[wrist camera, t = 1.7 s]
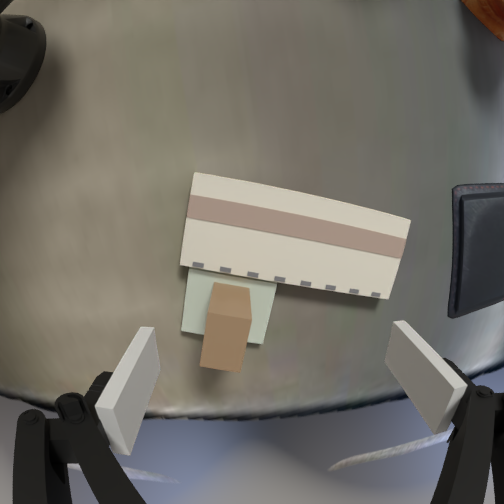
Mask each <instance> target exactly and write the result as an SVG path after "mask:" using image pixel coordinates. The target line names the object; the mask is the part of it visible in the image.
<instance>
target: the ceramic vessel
mask: <svg viewBox="0 0 504 504" xmlns="http://www.w3.org/2000/svg"><path fill="white" fill-rule="evenodd" d="M461 1H462V2H463V3H464V4H465V5H466V6H467V8H468V9H469V10H470V11H471V12H472V13H473V14H474V15H475V16H476V17H477V18H478V19H479V20H480V21H481V22H482V23H483V24H484V25H485V26H486V27H487V28H488V29H489V30H490V31H491V32H492V33H493V34H494V35H495V36H496V37H497V38H498V39H500V40H501V41H504V0H461Z"/></svg>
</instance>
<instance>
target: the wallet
mask: <svg viewBox="0 0 504 504" xmlns="http://www.w3.org/2000/svg"><path fill="white" fill-rule="evenodd" d="M452 215H453V256H452V272H451V284H450V294H449V302H448V317H450V318H456V317H460V316H463V315H466V314H468V313H471V312H474V311H476V310H479V309H482V308H485V307H487V306H490V305H493V304H496V303H498V302H501V301H503V300H504V183H485V184H464V185H457V186H455V187H454V188H453V189H452Z"/></svg>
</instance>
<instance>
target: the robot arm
mask: <svg viewBox="0 0 504 504" xmlns="http://www.w3.org/2000/svg"><path fill="white" fill-rule="evenodd" d="M12 1H13V0H0V113H2V112H4V111H6V110H8V109H9V108H11V107H12V106H13V105H14V104H16V103H17V102H18V101H19V100H20V99H21V98H22V96H23V95H24V94H25V93H26V91H27V90H28V89H29V87H30V86H31V84H32V83H33V81H34V79H35V77H36V75H37V73H38V71H39V69H40V66H41V64H42V61H43V58H44V54H45V49H46V34H45V30H44V28H43V26H42V25H41V24H40V23H39V22H37V21H36V20H34V19H33V18H31V17H29V16H25V15H7V14H1V13H2V12H3V11H4V10H5V8H6V7H7V6H8V5H9V4H10V3H11V2H12ZM384 362H385V363H386V365H387V366H388V368H389V369H390V371H391V372H392V373H393V375H394V376H395V378H396V379H397V381H398V382H399V384H400V385H401V386H402V388H403V389H404V391H405V392H406V394H407V395H408V397H409V398H410V400H411V401H412V402H413V404H414V405H415V407H416V408H417V410H418V411H419V413H420V414H421V416H422V417H423V419H424V420H425V422H426V423H427V425H428V426H429V428H430V429H431V431H432V432H433V434H434V435H435V434H438V433H441V432H444V431H447V429H448V427H449V425H450V423H451V421H452V423H453V424H454V425H455V427H454V429H453V431H452V433H451V435H450V437H449V439H448V440H447V443H448V442H449V441H450V443H449V447H448V451H447V454H446V458H445V461H444V465H443V468H442V471H441V474H440V478H439V481H438V484H437V487H436V490H435V492H434V495H433V498H432V501H431V503H430V504H483V502H484V498H485V492H486V487H487V482H488V475H489V469H490V462H491V466H492V474H493V482H494V493H495V504H504V393H494V392H493V390H492V389H490V388H489V387H486V386H481V385H480V386H476V385H475V384H473V382H472V381H471V380H470V379H469V378H468V377H467V376H466V375H465V374H464V373H462V371H461V370H460V369H458V367H457V366H456V365H455V364H454V363H453V362H452V361H450V360H448V359H446V358H441V357H440V356H439V355H438V354H437V353H436V352H435V351H434V350H433V349H432V348H431V347H430V346H429V345H428V343H427V342H426V341H425V340H424V339H423V338H422V337H421V336H420V335H419V334H418V333H417V332H416V331H415V330H414V329H412V328H411V327H410V326H409V325H408V324H407V323H406V322H405V321H394V322H393V325H392V330H391V335H390V339H389V344H388V349H387V353H386V357H385V361H384ZM160 370H161V369H160V363H159V357H158V350H157V343H156V337H155V329H154V327H140V329H139V330H138V332H137V334H136V335H135V337H134V339H133V340H132V342H131V344H130V345H129V347H128V349H127V350H126V352H125V354H124V356H123V357H122V359H121V361H120V362H119V364H118V366H117V368H116V369H115V371H114V372H105V371H104V372H103V373H101V374H100V375H99V376H97V377H96V379H95V380H94V382H93V383H92V385H91V387H90V388H89V391H87V393H86V395H85V396H84V397H83V395H81V394H79V393H73V392H71V393H66V394H63V395H61V396H60V397H58V398H57V399H56V401H55V409H56V411H57V413H58V415H59V418H57V419H46V418H45V415H44V414H43V413H42V412H41V411H39V410H36V409H31V410H27V411H25V412H23V413H22V414H21V415H20V416H19V418H18V421H17V431H16V439H15V450H14V464H13V465H14V466H13V504H72V498H71V492H70V485H69V477H68V468H67V463H79V465H80V467H81V469H82V471H83V473H84V476H85V478H86V479H87V482H88V484H89V485H90V487H91V489H92V491H93V493H94V495H95V497H96V499H97V500H98V502H99V504H146V503H145V501H144V500H143V498H142V497H141V496H140V494H139V493H138V491H137V490H136V489H135V487H134V486H133V484H132V483H131V481H130V480H129V478H128V477H127V475H126V474H125V472H124V471H123V469H122V468H121V466H120V464H119V463H118V461H117V460H116V458H115V456H114V455H113V453H118V454H123V455H129V456H130V454H131V452H132V449H133V445H134V443H135V440H136V437H137V434H138V431H139V428H140V425H141V422H142V420H143V417H144V414H145V411H146V408H147V405H148V403H149V400H150V397H151V394H152V392H153V389H154V386H155V383H156V381H157V378H158V375H159V373H160ZM109 445H110V446H111V449H112V451H113V453H112V452H111V450H110V448H109Z"/></svg>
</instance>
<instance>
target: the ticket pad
mask: <svg viewBox="0 0 504 504" xmlns="http://www.w3.org/2000/svg"><path fill="white" fill-rule="evenodd" d="M410 222H411V220H409V219H406V218H403V217H399V216H395V215H392V214H388V213H384V212H380V211H377V210H373V209H369V208H365V207H361V206H357V205H353V204H349V203H345V202H341V201H337V200H332V199H328V198H324V197H320V196H315V195H311V194H306V193H302V192H297V191H292V190H288V189H283V188H278V187H273V186H268V185H263V184H258V183H253V182H248V181H243V180H237V179H232V178H226V177H221V176H215V175H209V174H203V173H194V177H193V183H192V188H191V194H190V199H189V205H188V211H187V218H186V225H185V231H184V238H183V245H182V252H181V259H180V265H183V266H189V267H194V268H200V269H205V270H211V271H216V272H222V273H227V274H233V275H239V276H245V277H250V278H256V279H262V280H268V281H274V282H280V283H286V284H292V285H298V286H304V287H310V288H317V289H323V290H329V291H336V292H342V293H349V294H355V295H362V296H369V297H375V298H382V299H388V298H389V295H390V292H391V289H392V286H393V283H394V280H395V277H396V273H397V270H398V267H399V263H400V260H401V258H402V254H403V251H404V247H405V243H406V238H407V234H408V230H409V226H410Z"/></svg>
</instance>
